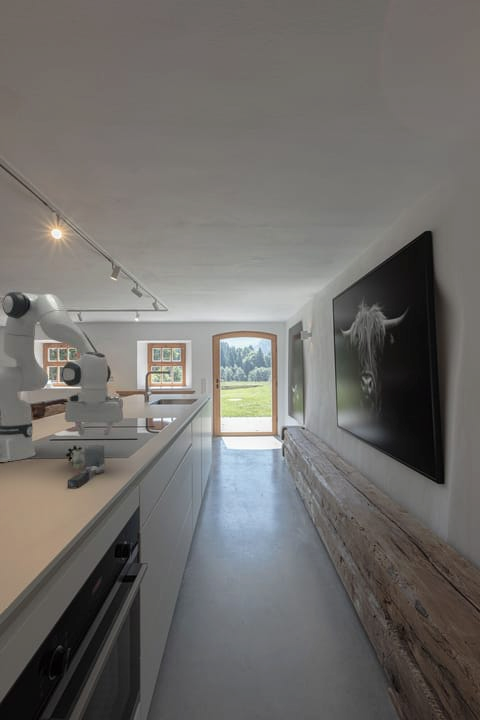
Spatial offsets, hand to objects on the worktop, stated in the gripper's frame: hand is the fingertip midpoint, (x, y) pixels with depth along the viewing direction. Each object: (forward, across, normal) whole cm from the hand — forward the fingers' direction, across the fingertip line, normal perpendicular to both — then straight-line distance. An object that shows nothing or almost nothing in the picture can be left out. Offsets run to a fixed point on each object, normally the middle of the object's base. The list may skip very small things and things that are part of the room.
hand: (94, 434), depth 128 cm
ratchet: (+14, -1, +7) cm, 15 cm away
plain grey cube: (+11, 0, 0) cm, 11 cm away
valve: (+14, +11, -10) cm, 21 cm away
